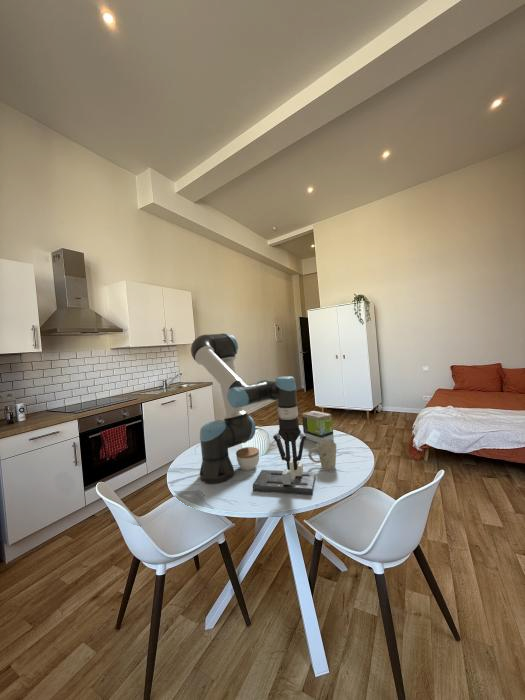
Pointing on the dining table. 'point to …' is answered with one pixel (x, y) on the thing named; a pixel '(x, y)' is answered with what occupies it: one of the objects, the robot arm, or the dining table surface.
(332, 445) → the mug
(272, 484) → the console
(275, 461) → the dining table surface
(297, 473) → the fader left
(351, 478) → the dining table surface
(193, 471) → the dining table surface
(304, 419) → the tea box
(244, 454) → the lidded jar
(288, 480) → the fader right
